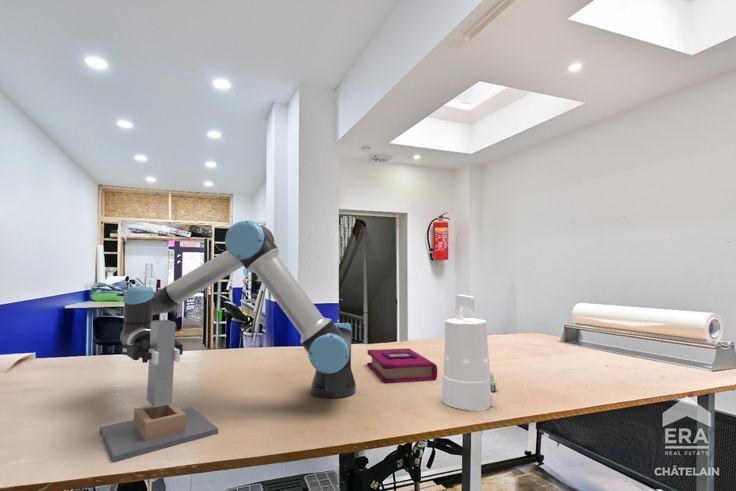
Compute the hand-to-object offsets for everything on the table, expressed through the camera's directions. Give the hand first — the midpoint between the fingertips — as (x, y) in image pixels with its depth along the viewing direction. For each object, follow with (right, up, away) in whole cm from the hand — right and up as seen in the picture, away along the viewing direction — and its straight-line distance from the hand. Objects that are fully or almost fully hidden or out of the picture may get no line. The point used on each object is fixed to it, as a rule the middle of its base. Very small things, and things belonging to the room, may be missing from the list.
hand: (167, 357), depth 94 cm
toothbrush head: (+89, -24, +49) cm, 105 cm away
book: (+62, -25, +62) cm, 91 cm away
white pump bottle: (+80, -22, +28) cm, 87 cm away
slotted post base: (-4, -20, +3) cm, 20 cm away
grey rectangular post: (-4, -12, +3) cm, 13 cm away
